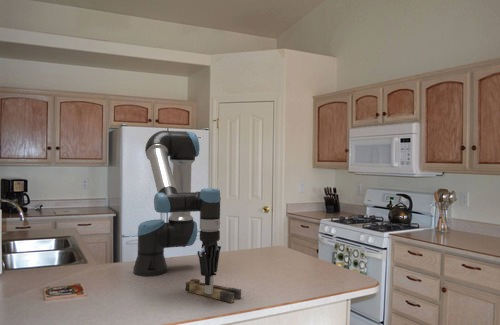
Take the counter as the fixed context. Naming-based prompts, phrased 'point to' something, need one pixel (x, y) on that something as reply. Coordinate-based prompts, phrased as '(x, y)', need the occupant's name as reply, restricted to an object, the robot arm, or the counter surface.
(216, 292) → the tong arm
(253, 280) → the counter surface
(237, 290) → the base
